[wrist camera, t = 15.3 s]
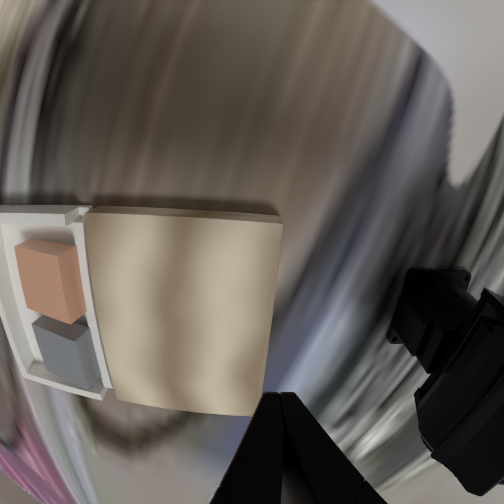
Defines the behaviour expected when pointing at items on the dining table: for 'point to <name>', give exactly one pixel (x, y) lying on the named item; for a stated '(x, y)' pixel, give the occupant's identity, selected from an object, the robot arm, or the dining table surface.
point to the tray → (12, 297)
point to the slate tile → (67, 351)
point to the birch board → (185, 304)
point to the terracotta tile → (51, 279)
